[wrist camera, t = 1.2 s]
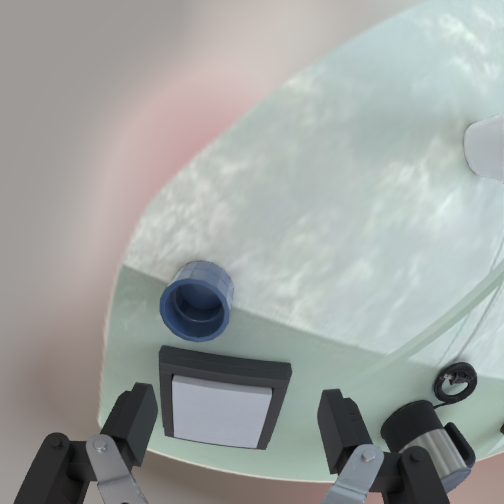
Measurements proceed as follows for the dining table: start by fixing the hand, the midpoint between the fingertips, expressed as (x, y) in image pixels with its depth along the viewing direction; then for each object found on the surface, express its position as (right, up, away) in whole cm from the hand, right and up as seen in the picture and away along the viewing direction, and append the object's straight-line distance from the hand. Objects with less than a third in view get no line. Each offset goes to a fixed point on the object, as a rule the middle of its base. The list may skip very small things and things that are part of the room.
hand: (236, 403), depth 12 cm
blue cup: (-4, +4, +15) cm, 16 cm away
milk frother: (+27, -15, +20) cm, 37 cm away
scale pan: (-3, -11, +16) cm, 20 cm away
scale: (-3, -10, +19) cm, 22 cm away
